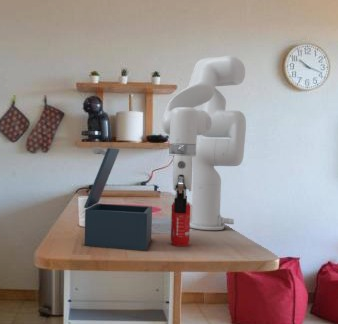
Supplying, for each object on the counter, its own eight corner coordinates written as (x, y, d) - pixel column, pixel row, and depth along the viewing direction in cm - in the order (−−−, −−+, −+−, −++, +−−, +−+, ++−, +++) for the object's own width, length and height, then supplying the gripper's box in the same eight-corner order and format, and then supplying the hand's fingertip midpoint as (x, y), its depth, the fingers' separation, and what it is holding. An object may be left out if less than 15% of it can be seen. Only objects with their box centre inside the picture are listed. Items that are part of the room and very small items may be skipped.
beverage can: (178, 247, 108) (180, 204, 108) (167, 243, 113) (168, 201, 113) (193, 245, 111) (194, 203, 110) (180, 241, 115) (182, 201, 115)
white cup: (97, 228, 133) (98, 199, 132) (75, 226, 134) (75, 198, 134) (101, 224, 140) (102, 196, 140) (80, 222, 142) (80, 195, 142)
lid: (119, 149, 119) (103, 142, 120) (110, 148, 105) (91, 141, 106) (98, 202, 121) (82, 195, 122) (86, 208, 107) (68, 200, 109)
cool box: (151, 239, 117) (152, 206, 117) (145, 250, 103) (146, 213, 103) (96, 235, 121) (97, 203, 121) (84, 245, 108) (85, 209, 107)
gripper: (196, 150, 102) (194, 215, 102) (195, 152, 118) (193, 208, 119) (167, 149, 104) (165, 213, 104) (170, 151, 120) (168, 206, 120)
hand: (180, 210), depth 111 cm, fingers open, 9 cm apart
